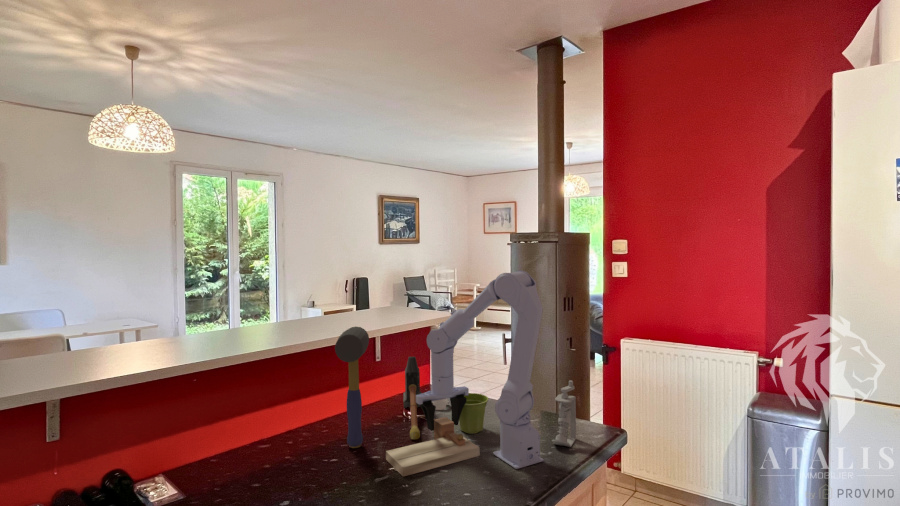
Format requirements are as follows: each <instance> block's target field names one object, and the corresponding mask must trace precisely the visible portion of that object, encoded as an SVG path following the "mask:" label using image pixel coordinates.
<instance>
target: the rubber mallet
mask: <svg viewBox="0 0 900 506" xmlns="http://www.w3.org/2000/svg"><path fill="white" fill-rule="evenodd" d="M369 342H370V337H369V333H368V331H367V330H366V329H365V328H363V327H361V326H352V327H350V328H347V329H346V330H345V331H343V332H342V333H341V334H340V335H339V336H338V338H337V340H336V343H335V344H334V345H335V346H334V350H335V351H334V352H335V354H336V356H337V358H339V359H340V361H342V362H345V363H348V390H347V396H346V413H347V429H348V430H347V437H346V443H347V445H348V446H349V448H351V449H358V448H360V447H361V446H362V444H363V441H364V435H363V433H362V411H363V408H362V407H363V402H362V395H361V389H360V375H359V374H360V373H359V372H360V371H359V368H360V367H359V359H360V358H361V357H362V356H363V355H364V354H365V353H366V351H367V349H368V348H369V347H368V346H369Z"/></svg>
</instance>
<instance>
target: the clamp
mask: <svg viewBox="0 0 900 506" xmlns="http://www.w3.org/2000/svg"><path fill="white" fill-rule="evenodd" d="M574 390H575V385H574V381H573V380H568V385H567V386H564V387H561V388H560V392H561V393H559V394H557V396H556V397H555V398H554V400H555V402H558V403H559V404H558V405H559V406H558V409H559V411H558V419H557V424H558V425H559V426H557V428H558V430H557V431H556V432H557V433H558V434H557V435H556V436H555V439H551V443H552V444H553V445H557V446H562V447H563V446H564V447H568V448H571V447H572V446H573V445H574V443H575V441H576V440H577V415H576V414H577V413H576V410H577V408H576V407H577V406H576V405H577V403H576V402H577V401H576V399H577V398H576V395H575V396H574V395H569V393H568V392H571V391H574ZM569 428H570V429H569ZM568 429H569V431H570V433H569V438H568V434H567V433H568V432H569V431H568Z"/></svg>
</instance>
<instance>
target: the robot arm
mask: <svg viewBox="0 0 900 506" xmlns="http://www.w3.org/2000/svg"><path fill="white" fill-rule="evenodd" d="M537 284H538V283H537V281H536V280H535V279H534V278H533V277H532V276H531V274H530V273H528V272H527V271H525V270H517V271H514V272H513V271H512V272H502V273H500V274H499V275H497V277H496V278H495V279H493V280H491V281H490V282H489V283H488V285H487V286H485V288H484V289H483V290H482V291H481V292H480V293H479V294H478V295H477V296H476V297H475V298H474V299H473V300H472V301H471V302H470V303H469V304H468V306H467V307H465V308H464V309H463V308H458V309H454V310H452V311H451V312H450V316H449V317H448V318H447V319H446V320H445V321H442V322H440V323H439V324H438V325H439V327H438V328H437V329H431V330H429V333H428V334H427V336H426V346H427V348H428V349H429V350H430V360H431V361H430V363H431V365H430V366H431V367H430V368H431V374H430V375H431V390H428V391H426V392H423V393H422V394H419V395H416V403H417V404H419V405H420V407H419V408H421V410H422V412H423V415H424V418H425V420H426V425H427V429H428V430H429V431H431V432H434V420H435V414H436V413H435V412H436V410H435V408H436V406H434V405H433V403H432V401H436V400H441V399H446V398H447V399H449V402H450V403H451V404H450V407H451V408H450V409H451V421H453V422H454V426H458V425H459V424H460V423H459V418H460V415H461V412H462V409H463V407H464V405H465V403H466V401H467V398H466V397H464V395H465V396H467V395H469V393H470V391H469V389H470V388H469V387H467V386H465V385H464V386H454V385H455V383H454V379H455V378H454V376H455V375H454V353H455V352H454V351H455V347H456V346H457V344H458V341H459V339H461V338H463V336H464V335H465V334H467V333H468V332H469V330H471V329H472V328H473V327H474V325H475V318H477V317H478V316H480V314H482V313H483V312H484V311H485V310H486V309H487V308H489V307H490V306H491V305H492V304H493V303H494V302H496V301H498V300H502V301H503V302H505V303H506V304H508V305H509V306H511V307H512V309H513V310H514V311H515V312H516V313H517V315H518V318H517V321H516V322H517V323H516V328H515V335H514V339H513V346H512V350H511V351H512V352H511V357H510V363H509V369H508V375H507V379H506V381H505V383H504V385H503V387H502V389H501V393H500V396H499V398H498V399H497V400H496V402H495V404H494V410H495V414H496V416H497V418H498V419H499V436H500V438H499V439H500V440H499V441H500V442H499V443H500V444H499V445H500V450H495V451H493V452H492V454H493V455H494V456H496V457H497V458H498V459H500V460H502V461H503V462H505V463H506V464H508V465H510V466H511V467H512V468H513V469H516V470H518V469H521V468H524V467H528V466H531V465H534V464H539V463H541V462H543V461H544V458H542V457H541V437H540V436H541V435H540V432H539V431H538V429H536V428H535V427H534V425H533V423H532V421H531V419H532V418H531V415H530V414H531V413H530V411H531V410H532V409H533V407H534V404H535V399H534V395H533V389H534V385H533V384H532V383H531V379H532V373H533V367H534V361H535V355H536V351H537V345H538V339H539V333H540V329H541V322H542V317H543V310H544V309H543V305H542V303H541V299H540V296H539V293H538V290H537V288H538V287H537Z"/></svg>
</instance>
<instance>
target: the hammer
mask: <svg viewBox="0 0 900 506" xmlns="http://www.w3.org/2000/svg"><path fill="white" fill-rule="evenodd" d="M420 375H421V374H420V368H419V366H418V361H417V358H416V356H408V358H407V362H406V367H405V369H404V384H405V385H404V386H405V387H404V389H405V391H404V392H403V394H402V395H403V396H402V397H403V399H402V400H403V408H406V409H407V407H409V408H410V420H411V422H410V423H411V429H410V430H409V438H410V439H411V440H419V439H420V437H421V432H420V429H419V427H418V413H417V412H418V411H417V410H418V408H421V407H420V405H419V404H417V403H416V395H419V394H422V391H421V383H420V381H421V379H420V378H421V377H420Z"/></svg>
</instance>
